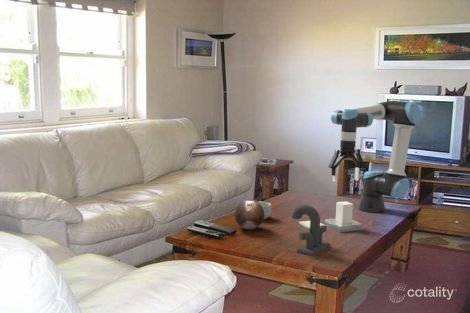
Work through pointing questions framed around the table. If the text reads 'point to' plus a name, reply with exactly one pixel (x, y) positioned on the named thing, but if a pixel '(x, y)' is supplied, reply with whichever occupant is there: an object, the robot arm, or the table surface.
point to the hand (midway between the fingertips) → (345, 181)
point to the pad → (307, 224)
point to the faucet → (311, 231)
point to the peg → (344, 212)
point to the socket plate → (343, 225)
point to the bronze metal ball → (249, 214)
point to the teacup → (266, 209)
